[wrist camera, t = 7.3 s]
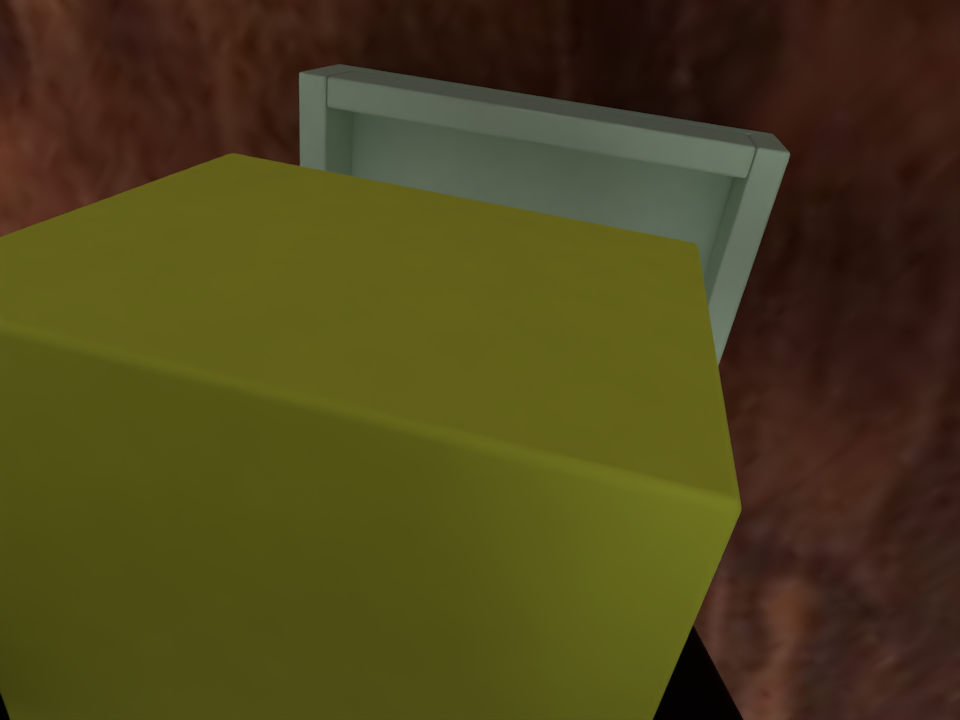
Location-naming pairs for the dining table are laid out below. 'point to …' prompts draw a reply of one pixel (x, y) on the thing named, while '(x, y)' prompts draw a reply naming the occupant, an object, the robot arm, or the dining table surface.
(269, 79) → the dining table surface
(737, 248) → the pan
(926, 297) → the dining table surface
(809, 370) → the dining table surface
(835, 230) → the dining table surface
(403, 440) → the sponge
